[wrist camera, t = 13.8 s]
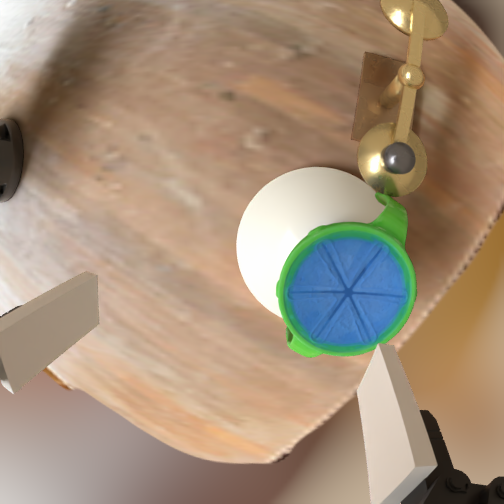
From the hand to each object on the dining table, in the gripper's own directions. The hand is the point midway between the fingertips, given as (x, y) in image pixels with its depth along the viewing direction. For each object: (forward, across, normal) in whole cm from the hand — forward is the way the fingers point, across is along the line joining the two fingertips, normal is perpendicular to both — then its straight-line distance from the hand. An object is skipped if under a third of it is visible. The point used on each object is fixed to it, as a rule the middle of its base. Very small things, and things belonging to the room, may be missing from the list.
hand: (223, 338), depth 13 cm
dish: (+21, +5, 0) cm, 21 cm away
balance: (+21, +9, +17) cm, 28 cm away
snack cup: (+20, +7, -1) cm, 21 cm away
